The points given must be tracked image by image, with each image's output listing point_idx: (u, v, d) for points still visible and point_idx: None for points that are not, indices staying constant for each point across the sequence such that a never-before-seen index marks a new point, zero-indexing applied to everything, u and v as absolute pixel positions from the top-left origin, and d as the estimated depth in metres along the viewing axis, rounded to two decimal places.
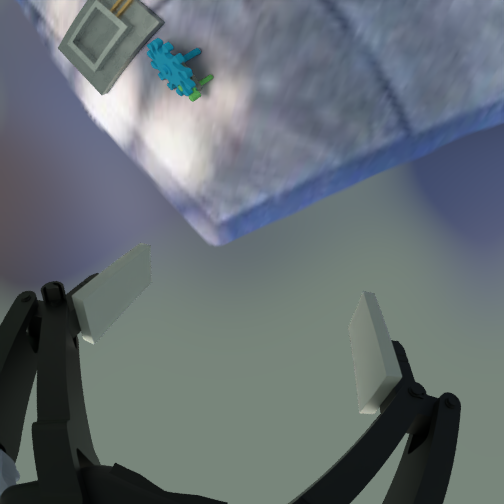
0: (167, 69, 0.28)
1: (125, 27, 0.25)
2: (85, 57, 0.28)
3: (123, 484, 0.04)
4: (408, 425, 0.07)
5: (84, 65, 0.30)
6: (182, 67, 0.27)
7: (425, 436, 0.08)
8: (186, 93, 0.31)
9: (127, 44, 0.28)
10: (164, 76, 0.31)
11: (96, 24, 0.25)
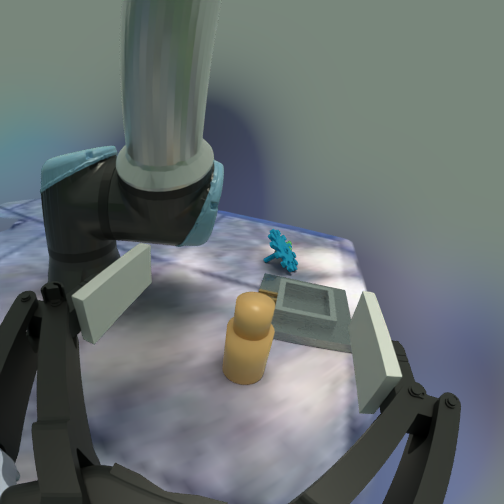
0: (284, 246, 0.58)
1: (282, 279, 0.48)
2: (329, 298, 0.44)
3: (123, 484, 0.04)
4: (408, 425, 0.07)
5: (340, 309, 0.44)
6: (276, 236, 0.59)
7: (425, 436, 0.08)
8: (289, 244, 0.62)
9: None
10: (292, 260, 0.58)
11: None
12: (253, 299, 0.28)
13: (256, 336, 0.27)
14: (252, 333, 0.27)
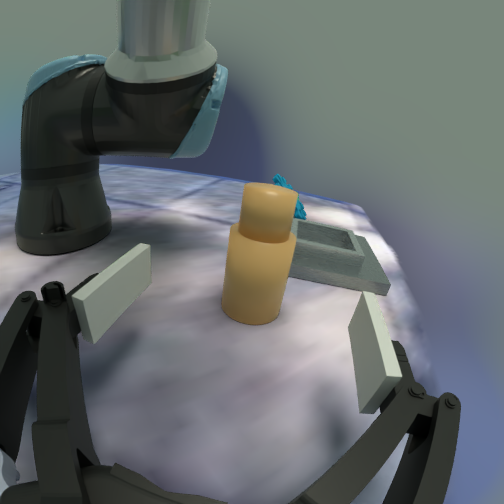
0: None
1: (293, 218, 0.40)
2: (351, 237, 0.36)
3: (123, 484, 0.04)
4: (408, 425, 0.07)
5: (363, 251, 0.37)
6: (282, 183, 0.51)
7: (425, 436, 0.08)
8: None
9: None
10: (300, 208, 0.50)
11: None
12: (267, 186, 0.20)
13: (272, 235, 0.19)
14: (267, 229, 0.19)
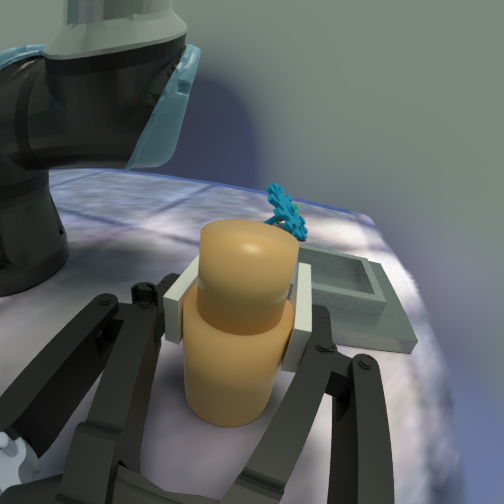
0: (289, 205, 0.41)
1: None
2: (367, 270, 0.28)
3: (123, 484, 0.04)
4: (326, 380, 0.09)
5: (381, 287, 0.28)
6: None
7: (350, 400, 0.10)
8: (297, 207, 0.45)
9: None
10: (299, 225, 0.42)
11: None
12: (244, 230, 0.12)
13: (252, 324, 0.10)
14: (241, 315, 0.10)
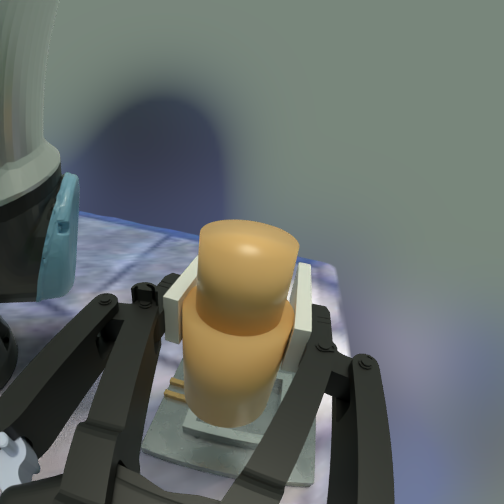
0: None
1: None
2: (283, 397, 0.25)
3: (123, 484, 0.04)
4: (326, 380, 0.09)
5: None
6: None
7: (350, 400, 0.10)
8: None
9: None
10: None
11: None
12: (244, 230, 0.11)
13: (251, 325, 0.10)
14: (241, 316, 0.10)
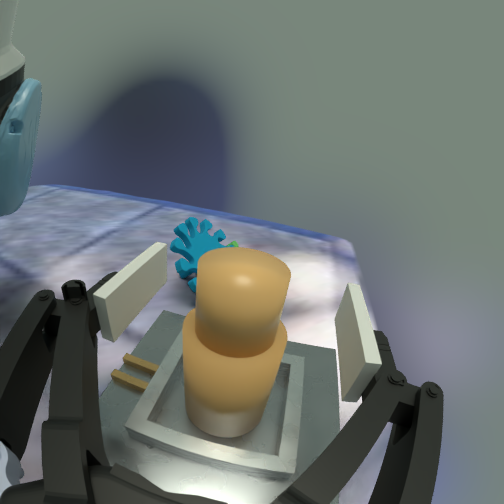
0: (210, 249, 0.30)
1: None
2: (290, 391, 0.16)
3: (123, 484, 0.04)
4: (390, 412, 0.07)
5: (316, 410, 0.16)
6: (201, 231, 0.32)
7: (409, 426, 0.08)
8: None
9: None
10: None
11: None
12: (239, 260, 0.12)
13: (245, 348, 0.11)
14: (236, 340, 0.11)
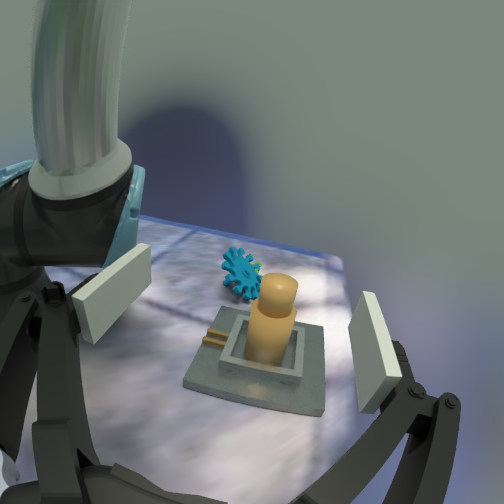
0: (244, 267, 0.48)
1: (239, 315, 0.38)
2: (298, 343, 0.34)
3: (123, 484, 0.04)
4: (408, 425, 0.07)
5: (312, 355, 0.34)
6: (238, 255, 0.50)
7: (425, 436, 0.08)
8: (257, 266, 0.52)
9: None
10: (254, 285, 0.48)
11: None
12: (277, 278, 0.30)
13: (280, 314, 0.29)
14: (277, 310, 0.29)
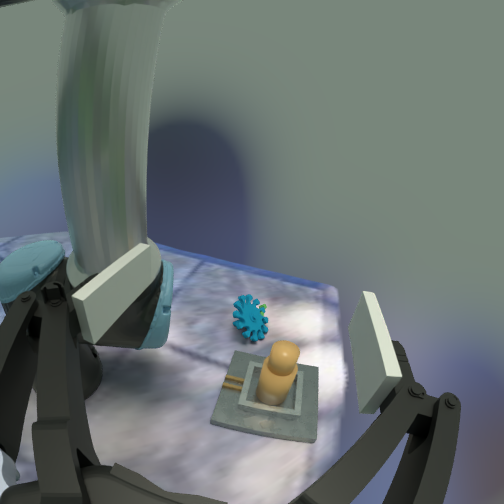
0: (252, 313, 0.55)
1: (251, 362, 0.44)
2: (297, 386, 0.41)
3: (123, 484, 0.04)
4: (408, 425, 0.07)
5: (308, 394, 0.41)
6: (247, 301, 0.56)
7: (425, 436, 0.08)
8: (263, 308, 0.58)
9: None
10: (260, 328, 0.55)
11: None
12: (283, 347, 0.36)
13: (285, 373, 0.35)
14: (283, 371, 0.35)
